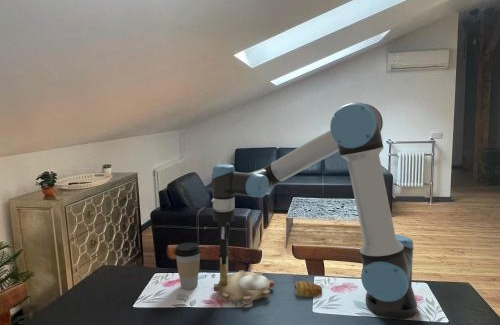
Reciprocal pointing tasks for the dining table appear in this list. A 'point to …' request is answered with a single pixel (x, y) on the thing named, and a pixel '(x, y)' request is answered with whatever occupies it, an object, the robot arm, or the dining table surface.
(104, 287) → the dining table surface
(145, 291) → the dining table surface
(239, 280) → the turntable
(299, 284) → the pastry
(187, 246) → the coffee cup
